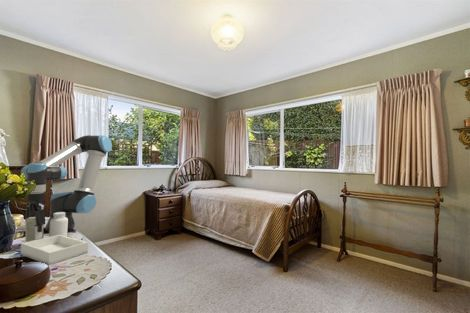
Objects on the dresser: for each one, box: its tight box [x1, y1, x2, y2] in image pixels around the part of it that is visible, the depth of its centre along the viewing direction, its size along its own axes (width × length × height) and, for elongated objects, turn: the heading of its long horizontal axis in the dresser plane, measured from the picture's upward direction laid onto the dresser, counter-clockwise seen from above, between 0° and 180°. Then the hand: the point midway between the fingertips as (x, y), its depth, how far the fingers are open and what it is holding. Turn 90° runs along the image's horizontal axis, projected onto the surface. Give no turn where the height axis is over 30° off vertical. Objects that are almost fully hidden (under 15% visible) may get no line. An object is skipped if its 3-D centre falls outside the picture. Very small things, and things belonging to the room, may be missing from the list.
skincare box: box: [24, 217, 44, 243], centre depth 121 cm, size 6×4×12 cm
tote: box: [19, 235, 89, 266], centre depth 109 cm, size 16×24×5 cm, turn 64°
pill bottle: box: [48, 212, 69, 237], centre depth 128 cm, size 8×8×15 cm
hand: (34, 237), depth 121 cm, fingers closed on skincare box, 7 cm apart
